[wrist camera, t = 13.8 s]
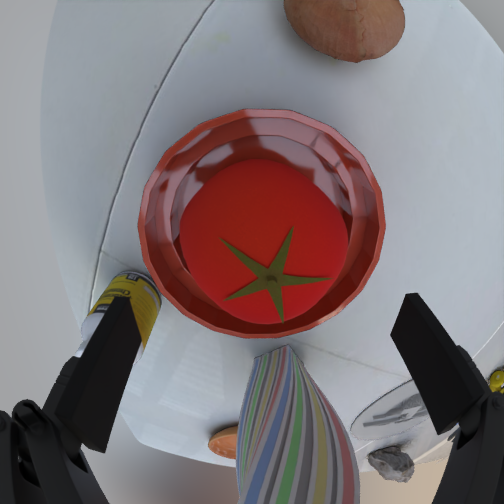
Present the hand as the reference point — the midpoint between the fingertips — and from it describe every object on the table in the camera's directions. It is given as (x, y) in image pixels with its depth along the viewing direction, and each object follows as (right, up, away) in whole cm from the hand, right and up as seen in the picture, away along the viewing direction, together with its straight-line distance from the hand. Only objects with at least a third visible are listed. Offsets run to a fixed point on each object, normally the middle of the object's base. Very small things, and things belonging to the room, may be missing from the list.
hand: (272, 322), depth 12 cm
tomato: (0, +6, +13) cm, 14 cm away
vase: (+3, -11, +23) cm, 26 cm away
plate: (+34, -31, +33) cm, 56 cm away
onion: (+6, +24, +5) cm, 25 cm away
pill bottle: (-14, -2, +17) cm, 23 cm away
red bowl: (0, +6, +14) cm, 15 cm away
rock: (+40, -57, +46) cm, 84 cm away
